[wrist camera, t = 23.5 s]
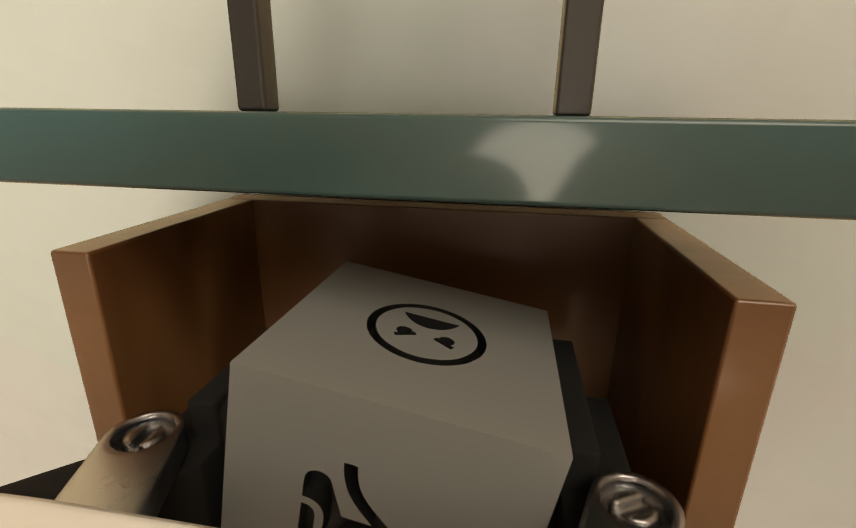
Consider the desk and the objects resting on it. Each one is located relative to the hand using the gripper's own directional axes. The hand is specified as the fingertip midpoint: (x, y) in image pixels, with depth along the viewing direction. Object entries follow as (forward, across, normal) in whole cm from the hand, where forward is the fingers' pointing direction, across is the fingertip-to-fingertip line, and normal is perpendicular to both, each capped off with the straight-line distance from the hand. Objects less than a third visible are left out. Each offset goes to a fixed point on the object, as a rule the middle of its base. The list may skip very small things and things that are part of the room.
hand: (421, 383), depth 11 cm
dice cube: (+1, 0, 0) cm, 1 cm away
